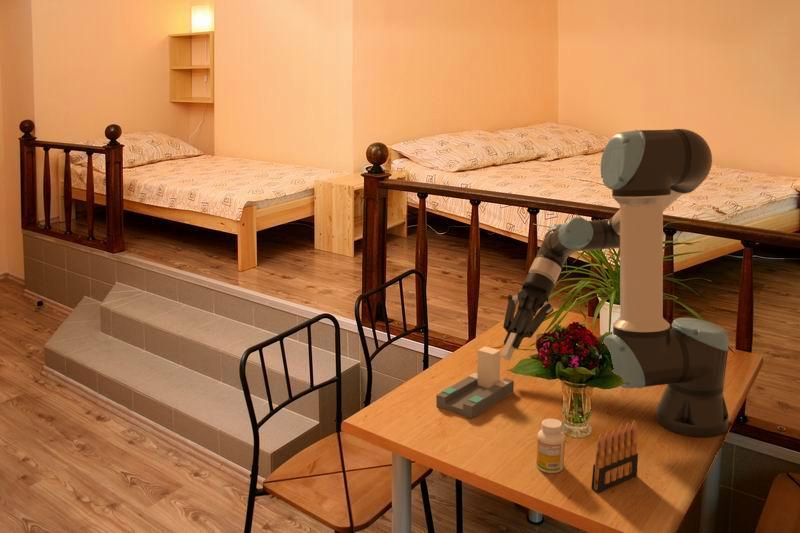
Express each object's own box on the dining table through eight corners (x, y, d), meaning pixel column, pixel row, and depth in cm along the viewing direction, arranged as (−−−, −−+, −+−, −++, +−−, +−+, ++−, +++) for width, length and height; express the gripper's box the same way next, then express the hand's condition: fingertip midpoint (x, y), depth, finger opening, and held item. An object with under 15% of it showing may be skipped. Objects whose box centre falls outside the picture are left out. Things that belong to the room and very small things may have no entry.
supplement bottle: (547, 457, 158) (549, 414, 155) (569, 466, 154) (571, 422, 151) (530, 466, 154) (532, 422, 152) (552, 477, 151) (554, 432, 148)
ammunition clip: (629, 472, 152) (634, 417, 149) (637, 476, 150) (641, 420, 147) (590, 488, 146) (594, 431, 143) (598, 493, 145) (601, 435, 142)
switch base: (479, 381, 194) (479, 369, 193) (513, 391, 188) (513, 379, 187) (436, 406, 181) (436, 393, 180) (471, 418, 175) (471, 405, 174)
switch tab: (484, 380, 191) (485, 346, 188) (499, 385, 188) (500, 350, 185) (477, 385, 188) (477, 350, 186) (492, 389, 185) (493, 354, 183)
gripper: (568, 290, 199) (532, 370, 192) (524, 281, 207) (489, 358, 200) (559, 275, 194) (522, 357, 186) (514, 267, 202) (477, 345, 194)
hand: (505, 357), depth 193 cm, fingers closed
